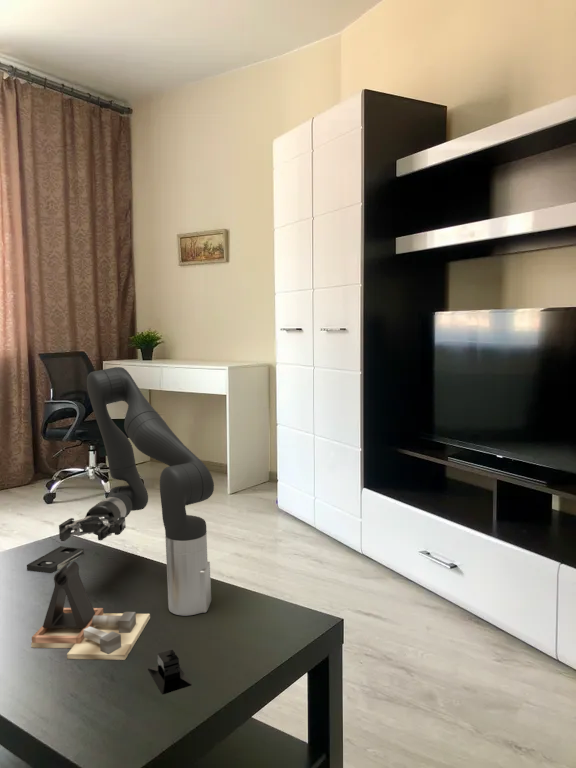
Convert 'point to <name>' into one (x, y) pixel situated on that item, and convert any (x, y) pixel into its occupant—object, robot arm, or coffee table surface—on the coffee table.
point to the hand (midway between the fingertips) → (80, 536)
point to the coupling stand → (95, 636)
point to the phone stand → (77, 597)
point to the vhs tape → (55, 559)
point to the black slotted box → (168, 673)
